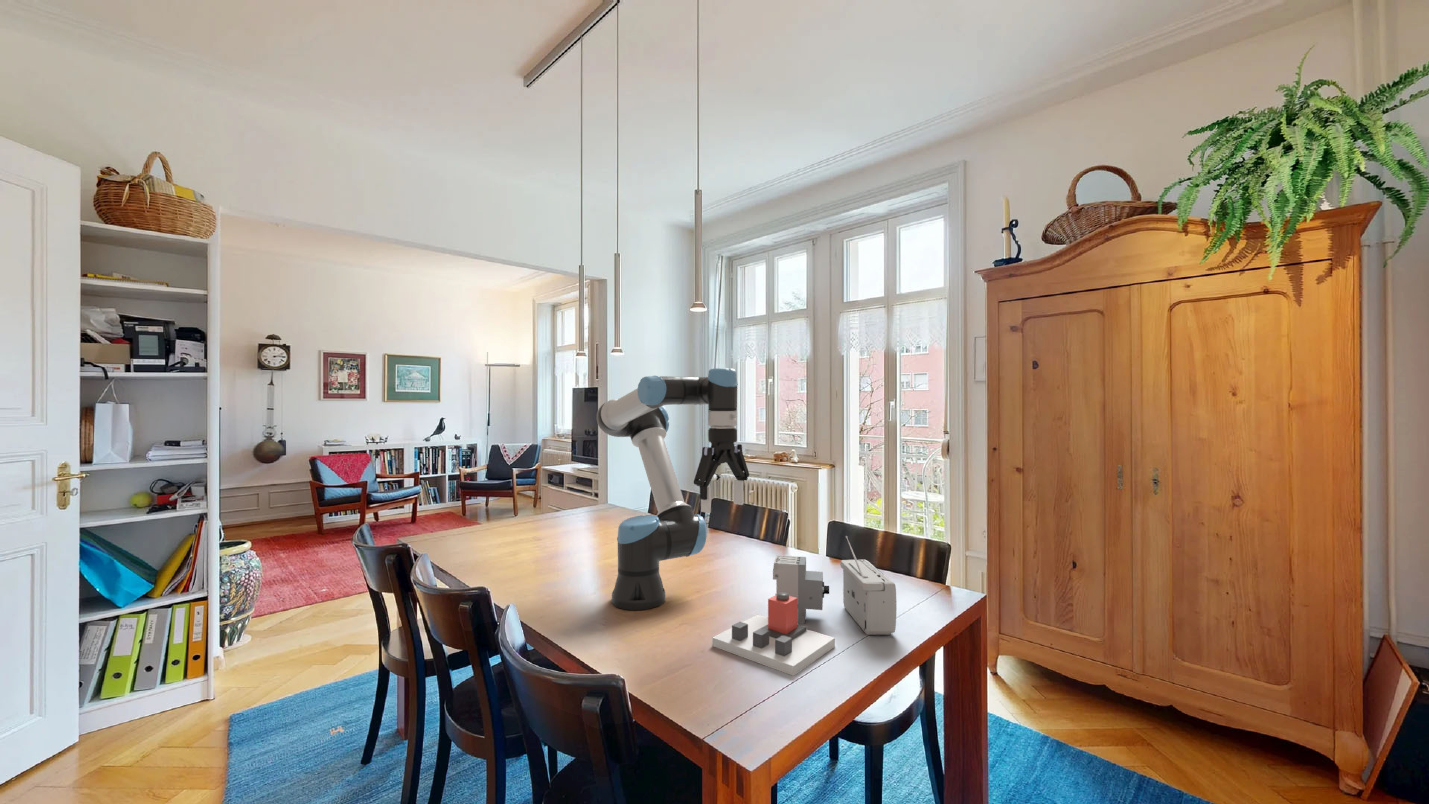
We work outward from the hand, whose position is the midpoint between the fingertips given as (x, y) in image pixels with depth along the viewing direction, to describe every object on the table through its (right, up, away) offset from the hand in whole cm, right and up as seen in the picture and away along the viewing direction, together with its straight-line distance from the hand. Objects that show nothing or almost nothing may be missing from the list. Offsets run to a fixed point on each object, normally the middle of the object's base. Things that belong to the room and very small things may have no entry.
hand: (722, 508), depth 149 cm
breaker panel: (+11, -29, -17) cm, 35 cm away
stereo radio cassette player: (+37, -29, -2) cm, 47 cm away
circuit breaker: (+21, -29, 0) cm, 35 cm away
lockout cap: (+14, -26, -14) cm, 33 cm away
